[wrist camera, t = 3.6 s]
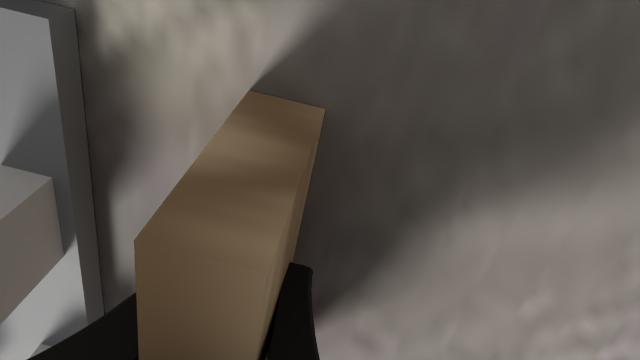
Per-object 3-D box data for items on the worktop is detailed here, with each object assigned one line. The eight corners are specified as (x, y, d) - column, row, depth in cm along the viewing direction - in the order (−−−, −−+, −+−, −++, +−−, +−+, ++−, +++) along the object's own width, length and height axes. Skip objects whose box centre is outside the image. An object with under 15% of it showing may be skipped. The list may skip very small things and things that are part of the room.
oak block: (325, 109, 12) (268, 273, 7) (272, 352, 17) (218, 544, 12) (248, 90, 12) (134, 239, 7) (220, 339, 17) (145, 524, 12)
